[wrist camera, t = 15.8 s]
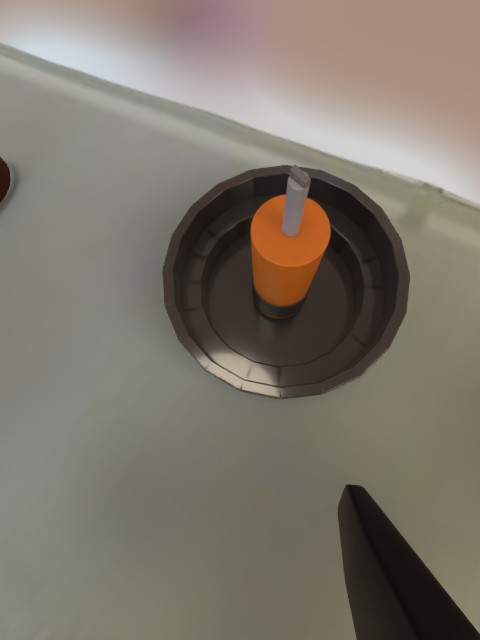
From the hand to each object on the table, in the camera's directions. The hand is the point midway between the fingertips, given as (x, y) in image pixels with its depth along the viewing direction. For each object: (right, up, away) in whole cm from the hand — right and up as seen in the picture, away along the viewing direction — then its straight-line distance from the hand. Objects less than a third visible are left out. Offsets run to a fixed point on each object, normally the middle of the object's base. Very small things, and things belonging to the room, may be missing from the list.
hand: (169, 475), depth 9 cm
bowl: (+4, +6, +14) cm, 16 cm away
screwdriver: (+4, +6, +14) cm, 15 cm away
